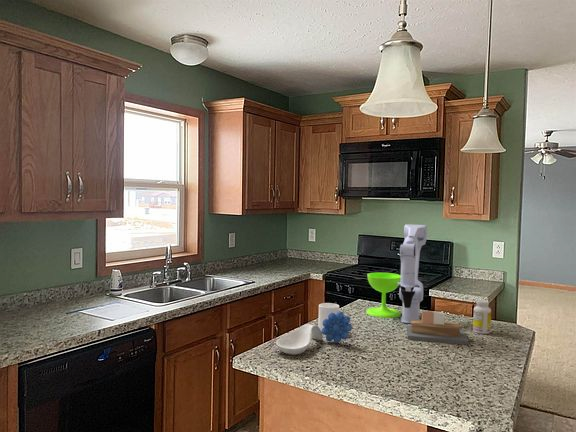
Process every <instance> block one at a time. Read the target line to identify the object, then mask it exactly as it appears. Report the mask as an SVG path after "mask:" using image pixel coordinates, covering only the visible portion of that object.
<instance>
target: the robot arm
mask: <svg viewBox="0 0 576 432" xmlns="http://www.w3.org/2000/svg"><path fill="white" fill-rule="evenodd" d="M427 236H428V225H427V224H412V223H411V224H410V223H409V224H408V223H405V225H404V228H403V237H404V241H403V243H402V244H400V246H399V256H400V258H399V259H400V275H401V281H400V282H398V285H399V291H398V292H399V295H398V296H399V299H400V300H401V302H402V307H401V308H402V309H401V310H402V312H401V313H402V314H401V315H400V322H401V323H402V324H411V319H414V320H421V319H420V304H421V302H422V301H423V300H424V284H423V283H422V282H421V281H420V280H419V267H420V254H421V249H422V247H423V246H425V245H426V242H427Z"/></svg>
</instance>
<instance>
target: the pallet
mask: <svg viewBox="0 0 576 432" xmlns="http://www.w3.org/2000/svg"><path fill="white" fill-rule="evenodd" d="M410 326H411V333H422V334H434V335H446V336H459V337H460V330H461V326H460V323H459V322H451V321H444V325H441V324H427V323H422V319H420V320H414V319H411V323H410Z"/></svg>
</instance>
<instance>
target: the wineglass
mask: <svg viewBox="0 0 576 432" xmlns="http://www.w3.org/2000/svg"><path fill="white" fill-rule="evenodd" d="M367 281H368V284H369V285H370V286H371V288H372V289H374V290H375V291H377V292H379V293H381V305H380V307H378V306H377V307H376V306H375V307H370V308H368V309H367V310H366V313H365V314H367V315H369V316H372V317H374V318H384V319H388V318H389V319H392V318H393V319H395V318H398V317H401V316H402V314H401V311H399V310H398V309H394V308H392V307H391V308H390V307H387V302H386V301H387V294H388V293H390V292H393V291H395V290H396V289H397V288H399V287H400V285H398V282H400V281H401V274H397V273H392V272H370V273H367Z"/></svg>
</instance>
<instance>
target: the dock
mask: <svg viewBox="0 0 576 432" xmlns="http://www.w3.org/2000/svg"><path fill="white" fill-rule="evenodd" d="M406 335H407V336H406V337H407V340H410V341H419V342H420V341H422V342H434V343H444V344H457V345H467V346H468V345H469V339H468V338H467V337H468V336H466V333H465V332H464V330H463V329H460V337H459V336H446V335H434V334H422V333H411V325H406Z"/></svg>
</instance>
